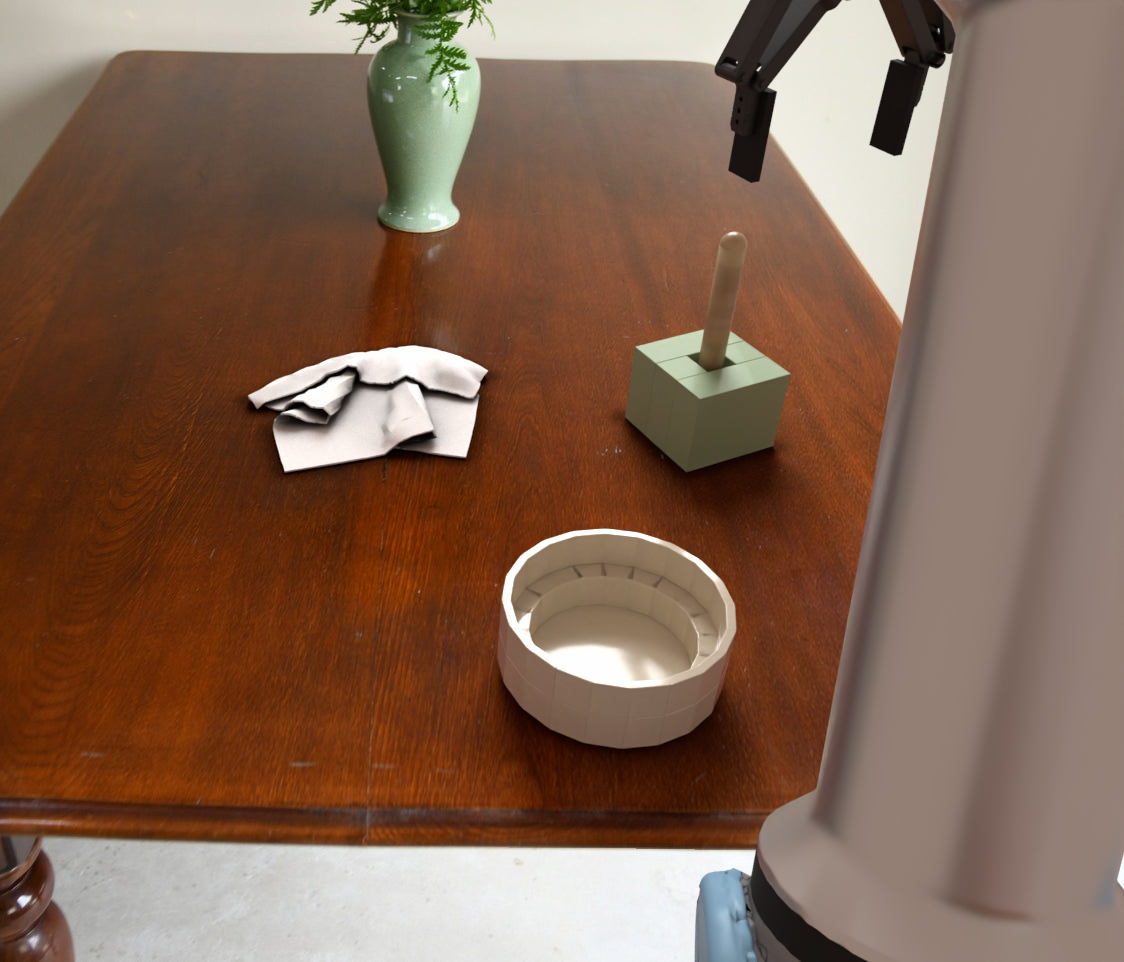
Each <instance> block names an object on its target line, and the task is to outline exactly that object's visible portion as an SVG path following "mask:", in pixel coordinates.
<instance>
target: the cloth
mask: <svg viewBox="0 0 1124 962" xmlns="http://www.w3.org/2000/svg"><path fill="white" fill-rule="evenodd" d="M488 372H489V370H488V369H486V368H484V367H483V366H481V365H480V364H478V363H475V362H473V361H472V360H470V359H467V358H464V357H462V356H460V355H457V354H454V353H451V352H447V351H442V350H440V349H438V348H433V347H425V346H418V345H406V346H398V347H386V348H382V349H379V350H369V351H366V352H364V351H359V352H350V353H348V354H343V355H338V356H335V357H329V358H328V359H326V360H324V361H321V362H319V363H317V364H315V365H311V366H306V367H304V368H301V369H299V370H298V371H295V372H294V373H291V374H288V375H284V376H282V377H279V378H277V379H275V380H273V381H271V382H270V383H268V384H266V385H265V386H264V387H262V388H260V389H258V390H256V391H254V392H252V393H249V394H248V395H247V398H248V399H247V400H249V401H251V402H252V403H253V404H254V406H255V408H256V410H259V408H261V407H262V406H263V407H265V408H268V409H270V410H274V411H279V412H280V411H281V412H280V413H279V414H278V415H277V416H276V417H275V418H274V420H273V424H272V432H273V436H274V440H275V441H274V442H275V444H276V448H277V451H278V454H279V458H280V462H281V464H282V467H283V470H284V474H285V473H291V472H292V473H293V472H296V471H303V470H309V469H316V468H322V467H328V466H334V465H338V464H339V465H340V464H346V463H350V462H351V463H352V462H357V461H362V460H368V459H373V458H377V457H382V456H386V455H387V454H388V453H390V451H392V450H393V449H397V450H403V451H413V452H414V451H415V452H421V453H424V454H430V455H437V456H443V457H452V458H460V459H467V455H468V452H469V448H470V444H471V440H472V436H473V431H474V427H475V423H476V418H477V411H478V410H477V409H478V406H479V405H478V404H479V400H480V394H479V393H478V392H479V389H480V387H481V381H482V380H483V378H484V376H486V375H487V373H488ZM297 403H303V404H301V405H299V406H298V407H296V408H293V409H289V408H291V407H292V406H294V405H296V404H297ZM288 409H289V410H288ZM286 410H287V411H286Z"/></svg>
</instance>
